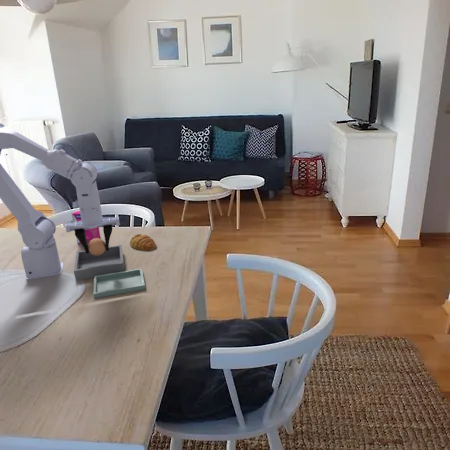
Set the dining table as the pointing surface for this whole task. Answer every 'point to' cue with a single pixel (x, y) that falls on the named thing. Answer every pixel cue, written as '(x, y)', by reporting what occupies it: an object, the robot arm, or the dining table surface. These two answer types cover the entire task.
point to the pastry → (142, 242)
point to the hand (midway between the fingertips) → (97, 250)
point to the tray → (118, 283)
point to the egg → (96, 246)
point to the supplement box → (90, 233)
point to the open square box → (98, 263)
